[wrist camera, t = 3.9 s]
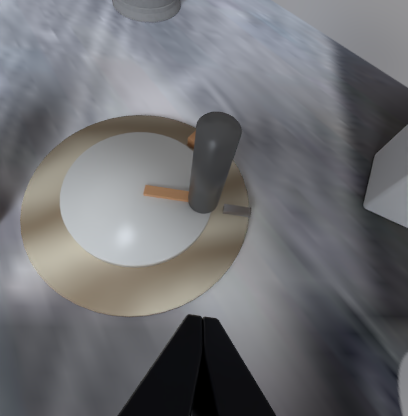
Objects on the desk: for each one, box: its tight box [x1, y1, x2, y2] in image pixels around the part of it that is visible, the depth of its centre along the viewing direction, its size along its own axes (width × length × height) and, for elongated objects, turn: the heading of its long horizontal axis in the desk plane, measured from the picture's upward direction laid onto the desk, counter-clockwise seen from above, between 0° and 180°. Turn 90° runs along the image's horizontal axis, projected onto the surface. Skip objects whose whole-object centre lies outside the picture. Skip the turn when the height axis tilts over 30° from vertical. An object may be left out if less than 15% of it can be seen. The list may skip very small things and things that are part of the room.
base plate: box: [20, 115, 251, 317], centre depth 22 cm, size 18×18×2 cm
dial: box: [60, 112, 242, 268], centre depth 18 cm, size 12×12×9 cm
